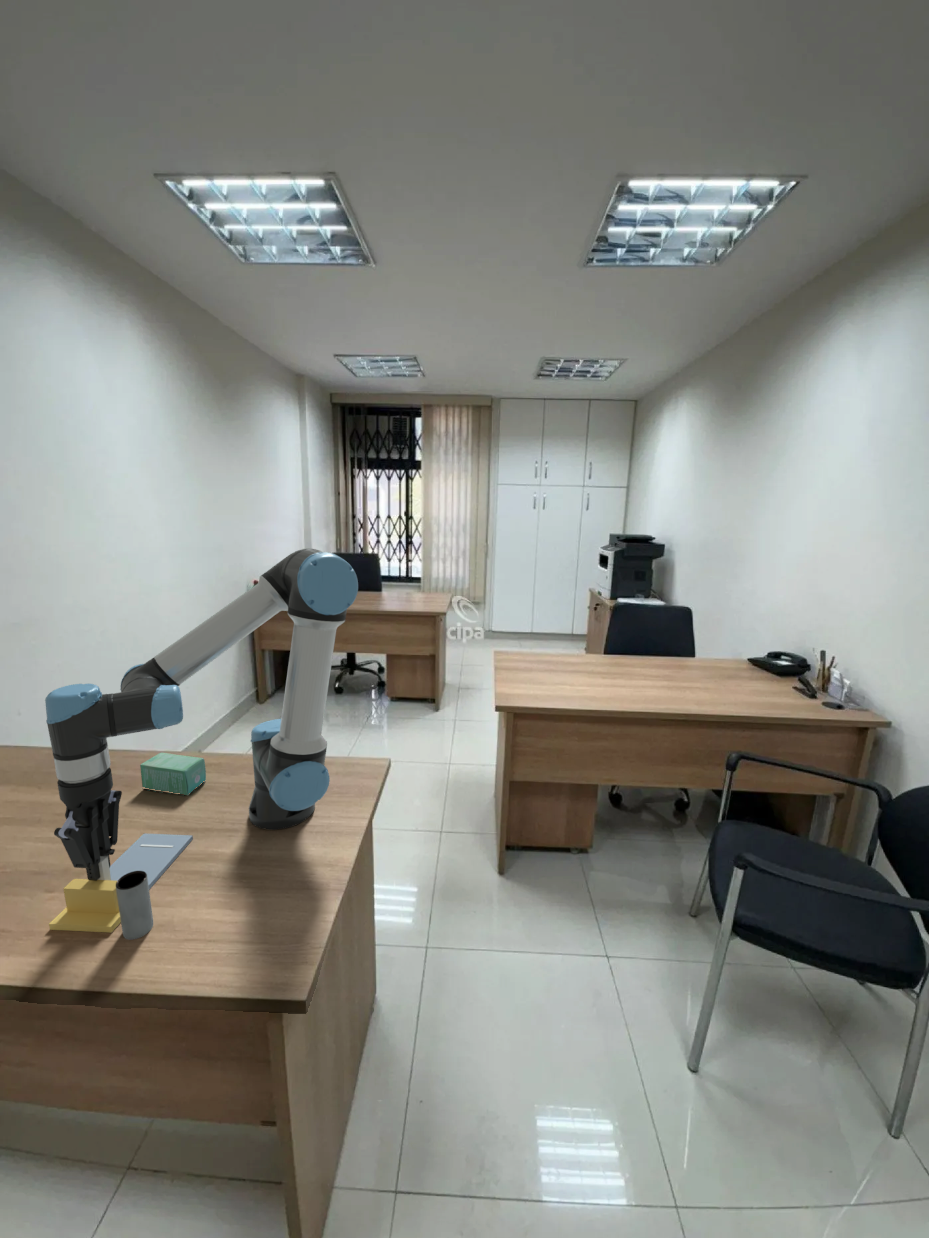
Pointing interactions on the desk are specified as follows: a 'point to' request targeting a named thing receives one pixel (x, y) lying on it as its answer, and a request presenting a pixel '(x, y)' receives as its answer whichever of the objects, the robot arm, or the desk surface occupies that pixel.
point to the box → (173, 773)
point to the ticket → (150, 856)
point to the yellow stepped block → (89, 907)
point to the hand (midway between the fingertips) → (102, 889)
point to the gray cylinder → (134, 904)
